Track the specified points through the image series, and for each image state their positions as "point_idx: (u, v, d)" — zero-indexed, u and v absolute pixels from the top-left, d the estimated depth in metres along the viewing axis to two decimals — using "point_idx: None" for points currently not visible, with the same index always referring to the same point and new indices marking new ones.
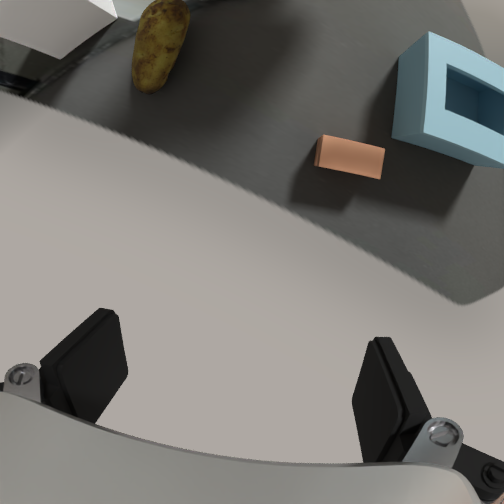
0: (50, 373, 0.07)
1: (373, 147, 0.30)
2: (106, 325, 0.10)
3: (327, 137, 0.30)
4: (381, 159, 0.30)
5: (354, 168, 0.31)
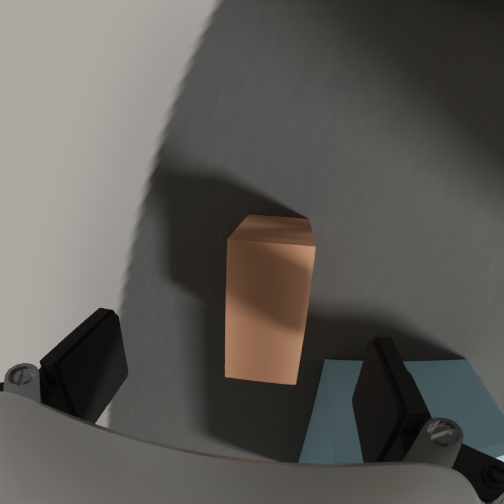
0: (50, 373, 0.07)
1: (295, 363, 0.14)
2: (106, 325, 0.10)
3: (309, 257, 0.12)
4: (269, 379, 0.14)
5: (237, 325, 0.13)
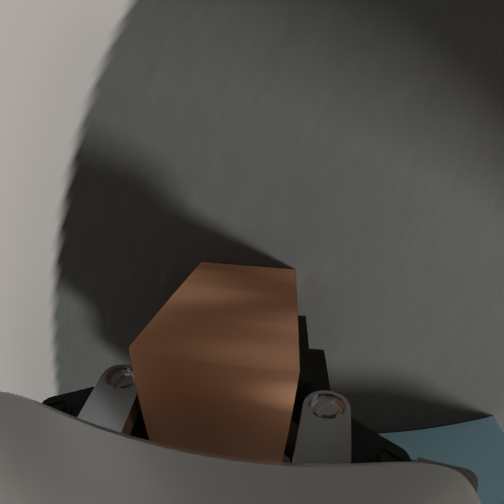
0: None
1: None
2: None
3: (286, 387, 0.06)
4: None
5: None
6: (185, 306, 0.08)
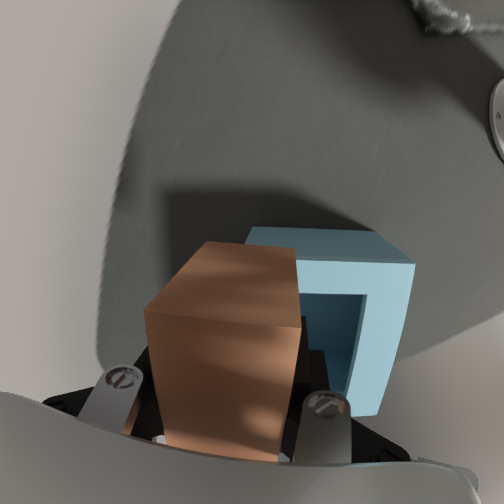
0: None
1: None
2: None
3: (289, 345, 0.06)
4: None
5: (179, 426, 0.08)
6: (194, 276, 0.09)
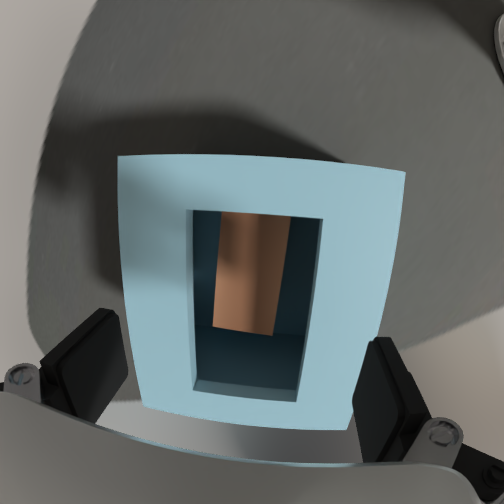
0: (50, 373, 0.07)
1: (272, 315, 0.17)
2: (106, 325, 0.10)
3: (285, 223, 0.16)
4: (250, 329, 0.17)
5: (225, 279, 0.17)
6: None
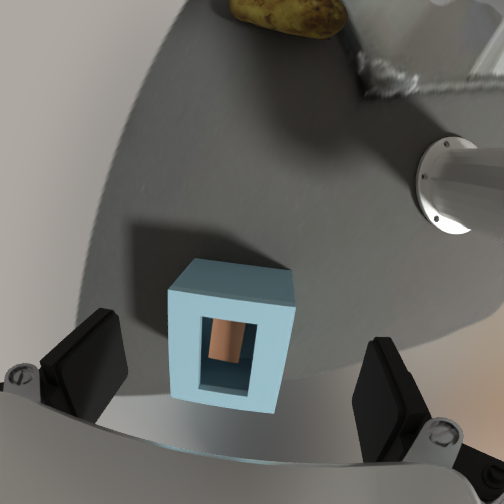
0: (50, 373, 0.07)
1: (238, 354, 0.34)
2: (106, 325, 0.10)
3: None
4: (227, 359, 0.34)
5: (215, 336, 0.33)
6: None
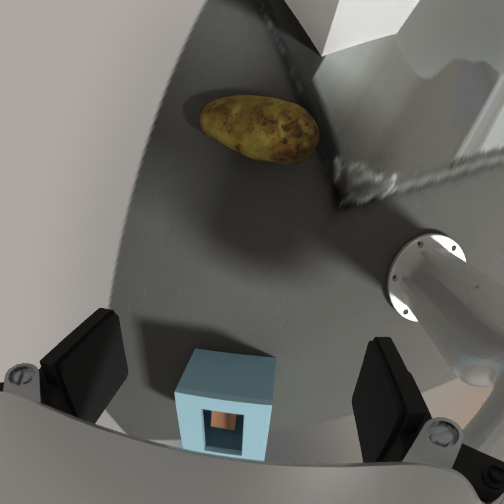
0: (50, 373, 0.07)
1: (233, 424, 0.39)
2: (106, 325, 0.10)
3: None
4: (225, 427, 0.40)
5: (215, 413, 0.39)
6: None
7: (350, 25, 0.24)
